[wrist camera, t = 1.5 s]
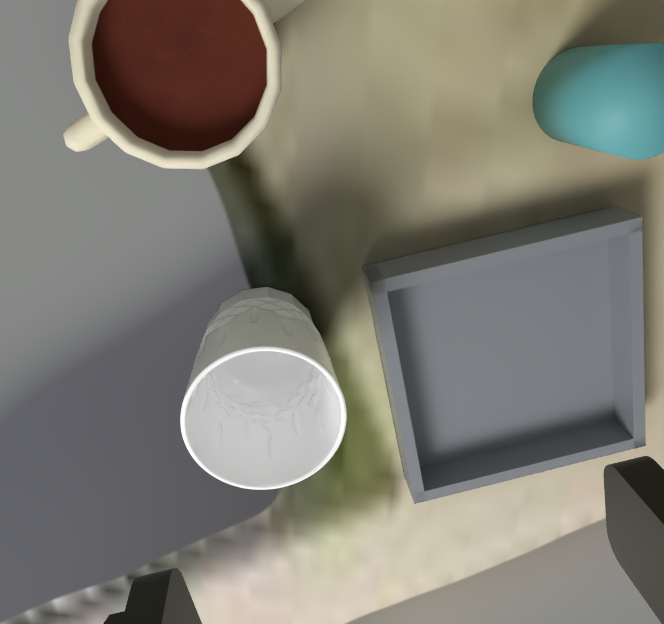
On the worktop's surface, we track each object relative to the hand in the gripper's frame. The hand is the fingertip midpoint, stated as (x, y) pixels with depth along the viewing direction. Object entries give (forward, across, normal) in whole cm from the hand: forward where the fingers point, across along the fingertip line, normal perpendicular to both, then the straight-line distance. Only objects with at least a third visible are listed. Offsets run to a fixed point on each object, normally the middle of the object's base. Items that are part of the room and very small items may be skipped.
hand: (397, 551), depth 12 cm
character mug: (+27, +3, -9) cm, 29 cm away
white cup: (+27, +4, +7) cm, 28 cm away
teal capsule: (+27, -17, -3) cm, 32 cm away
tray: (+27, -10, +12) cm, 31 cm away
